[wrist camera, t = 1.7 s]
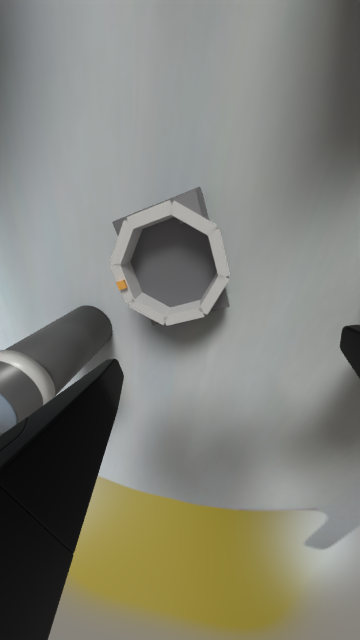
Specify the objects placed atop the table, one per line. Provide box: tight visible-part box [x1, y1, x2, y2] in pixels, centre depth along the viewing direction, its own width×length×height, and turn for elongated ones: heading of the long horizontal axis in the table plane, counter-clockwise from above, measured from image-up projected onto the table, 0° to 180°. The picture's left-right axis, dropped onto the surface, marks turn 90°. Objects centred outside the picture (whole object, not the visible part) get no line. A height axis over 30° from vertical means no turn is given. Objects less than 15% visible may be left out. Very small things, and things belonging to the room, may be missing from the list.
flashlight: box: [0, 306, 112, 435], centre depth 18 cm, size 5×5×12 cm
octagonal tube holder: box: [110, 187, 230, 326], centre depth 17 cm, size 9×8×5 cm
